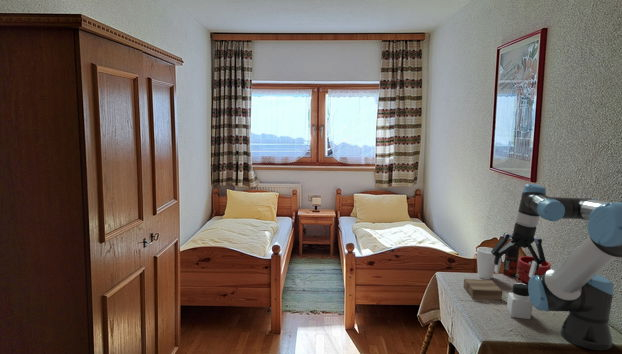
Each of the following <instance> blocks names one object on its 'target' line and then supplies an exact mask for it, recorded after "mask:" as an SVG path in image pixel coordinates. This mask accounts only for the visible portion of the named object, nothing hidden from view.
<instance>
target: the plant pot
mask: <svg viewBox="0 0 622 354" xmlns="http://www.w3.org/2000/svg"><path fill="white" fill-rule="evenodd" d="M532 261H535V260H534V258H533V256H527V255H523V256H520V257H518V264H517V275H518V277H517V278H516V283H523V284H526V285H528V283H529V280H530V277H529V272H530V268H531V264H532ZM550 269H551V263H550V262H549V261H547V260H546V262H545V263H543V262H542V263H541V264H540V265H539V268H538V270H537V271H535V275H534V276H536V275H538V276H542V275H544V274H545V273H546V272H547V271H548V270H550Z"/></svg>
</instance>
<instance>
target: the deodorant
mask: <svg viewBox="0 0 622 354" xmlns="http://www.w3.org/2000/svg"><path fill="white" fill-rule="evenodd" d="M508 243H509V242H506V243H505V246H506V245H507V244H508ZM519 255H520V247H517V246H516V247H514V248H512V249H510V250H509V251H508V252H506V253H505V254H504V260H503V268H502V269H503V270H502V274H503V275H504V276H506V277H510V278H516V277H517V274H518V259H519Z"/></svg>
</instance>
